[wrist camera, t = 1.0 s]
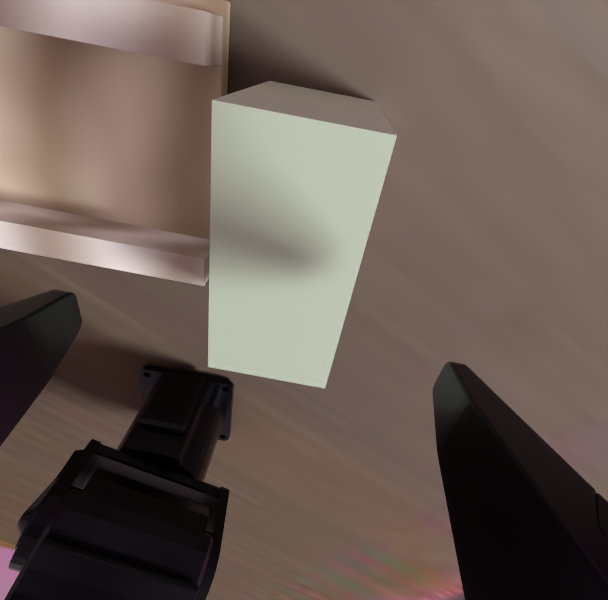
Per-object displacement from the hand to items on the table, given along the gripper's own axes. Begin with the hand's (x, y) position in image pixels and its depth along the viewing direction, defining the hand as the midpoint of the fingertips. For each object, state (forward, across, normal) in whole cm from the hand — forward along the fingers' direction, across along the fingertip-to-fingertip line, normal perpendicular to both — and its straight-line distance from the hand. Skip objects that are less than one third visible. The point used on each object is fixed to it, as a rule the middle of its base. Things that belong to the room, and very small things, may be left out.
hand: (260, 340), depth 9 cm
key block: (+11, 0, 0) cm, 11 cm away
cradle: (+11, +11, -1) cm, 15 cm away
